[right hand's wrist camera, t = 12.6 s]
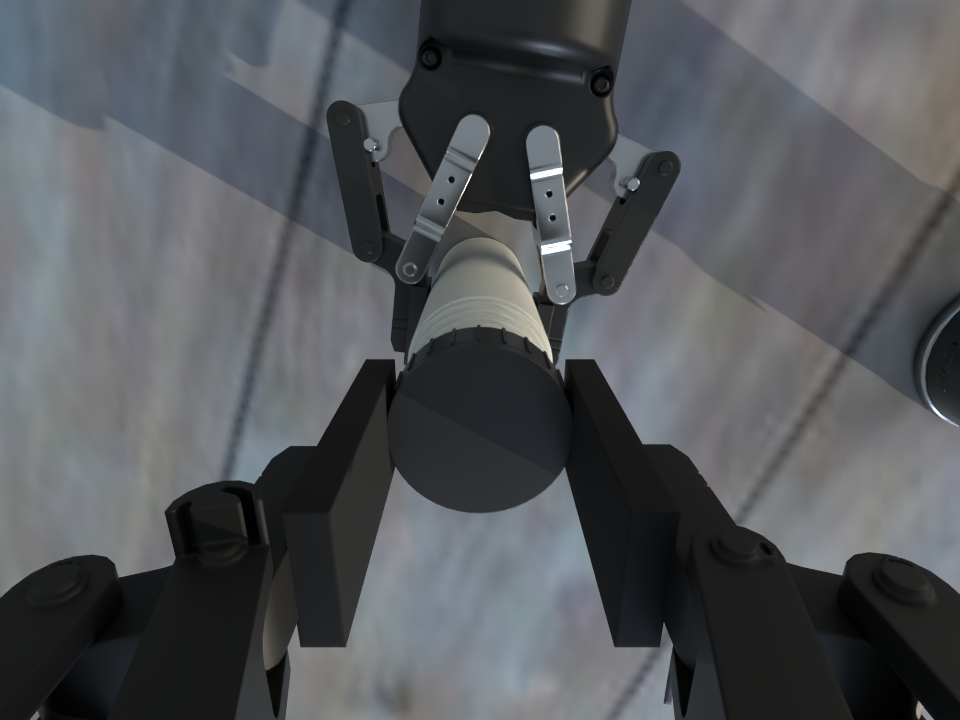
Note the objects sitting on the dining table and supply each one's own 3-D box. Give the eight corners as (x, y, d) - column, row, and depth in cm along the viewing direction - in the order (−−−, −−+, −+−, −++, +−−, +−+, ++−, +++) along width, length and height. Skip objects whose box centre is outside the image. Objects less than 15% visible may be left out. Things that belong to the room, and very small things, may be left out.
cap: (551, 489, 15) (558, 524, 14) (388, 472, 15) (378, 506, 14) (581, 335, 14) (593, 356, 12) (399, 313, 14) (389, 333, 12)
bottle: (515, 325, 31) (556, 515, 14) (434, 315, 31) (381, 496, 14) (528, 242, 29) (590, 350, 13) (442, 232, 29) (392, 327, 12)
